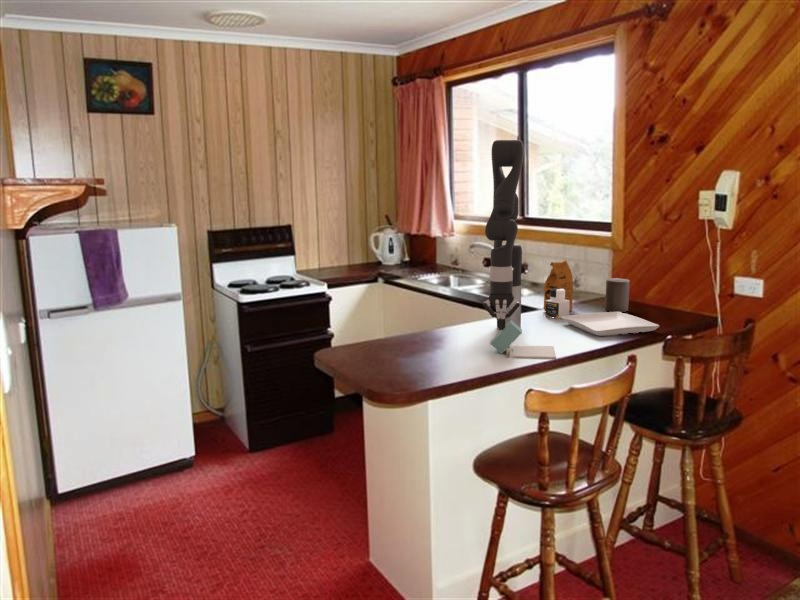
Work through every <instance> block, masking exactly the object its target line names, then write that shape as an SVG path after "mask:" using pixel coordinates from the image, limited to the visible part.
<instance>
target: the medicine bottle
mask: <svg viewBox="0 0 800 600" xmlns="http://www.w3.org/2000/svg"><path fill="white" fill-rule="evenodd" d="M550 298H551V299H550V300H546V312H545V317H546V316H548V317H547V318H550V317H554V318H553V319H555V318H561V316H570V311H569V302H570V301H569V300H565V290H564V289H562V288H553V289H551V290H550ZM561 319H562V318H561Z"/></svg>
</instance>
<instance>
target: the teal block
mask: <svg viewBox="0 0 800 600" xmlns="http://www.w3.org/2000/svg"><path fill="white" fill-rule="evenodd" d="M522 333H523V329H522V327H521V328H519V327H518V326H517V325H516V324H515V323H514V322H513V321H512V320H510V321H509V322H508V323H507V324H506V325H505V328H503V330H499V331H498V333H496V335H494V337H493V338H492V339H491V340H490V345H491V346H492V347H493V348H494V349H495V350H496V351H498V352H499V353H500V354H502V355H503V353H504V352H505V351H507V348H508V347H509V346H510V347H511V345H512V343H514V342H515V341H516V340H517V339H518V337H519V336H520V335H521V334H522Z"/></svg>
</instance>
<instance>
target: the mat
mask: <svg viewBox="0 0 800 600" xmlns="http://www.w3.org/2000/svg"><path fill="white" fill-rule="evenodd" d="M512 358H513V359H545V358H552V359H551V360H553V359H555V360H556V359H557V355H556V351H555V347H554V345H519V344H517V345H515V344H514V345H512Z"/></svg>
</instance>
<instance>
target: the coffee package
mask: <svg viewBox="0 0 800 600" xmlns="http://www.w3.org/2000/svg"><path fill="white" fill-rule="evenodd" d="M550 266H551V267H552V268H551V270H550V273H549V275H548V276H547V278H546V279H545V282H544V286H543V310H544V312H545V311H546V300H550V299H551V298H550V290H551V289H553V288H562V289H564V290H565V300H569V301H570V302H569V310H570V311H572V310H573V299H574V294H573V293H574V281H573V272H572V270H571V268H570V266H569V264H568V261H567V260H566V259H564V260H562V261H559V262H557V261H554V262H553V261H552V262H551V263H550Z"/></svg>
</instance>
